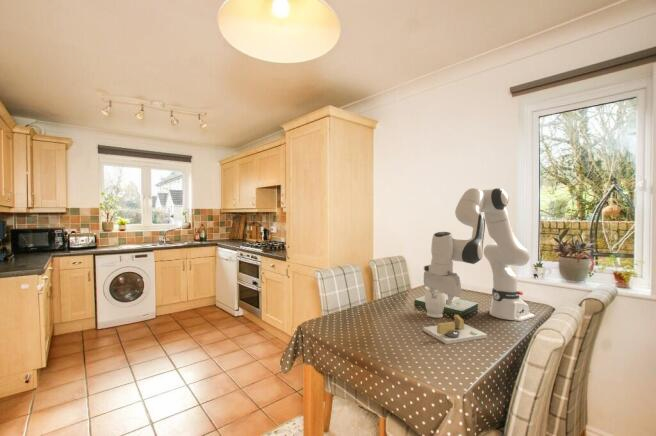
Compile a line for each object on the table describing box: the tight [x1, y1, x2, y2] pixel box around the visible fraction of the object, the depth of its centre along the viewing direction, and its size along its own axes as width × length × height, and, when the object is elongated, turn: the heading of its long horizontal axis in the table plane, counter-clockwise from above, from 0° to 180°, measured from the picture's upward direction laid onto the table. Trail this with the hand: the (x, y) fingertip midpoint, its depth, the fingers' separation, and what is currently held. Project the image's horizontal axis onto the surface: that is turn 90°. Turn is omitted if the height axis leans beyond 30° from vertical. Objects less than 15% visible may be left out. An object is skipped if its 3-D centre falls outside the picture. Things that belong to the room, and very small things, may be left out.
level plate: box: [422, 323, 488, 345], centre depth 139 cm, size 22×16×2 cm
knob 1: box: [436, 321, 459, 338], centre depth 133 cm, size 10×6×6 cm, turn 109°
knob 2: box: [453, 314, 465, 329], centre depth 141 cm, size 10×6×6 cm, turn 174°
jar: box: [424, 286, 446, 319], centre depth 164 cm, size 11×10×15 cm
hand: (441, 301), depth 132 cm, fingers open, 8 cm apart
